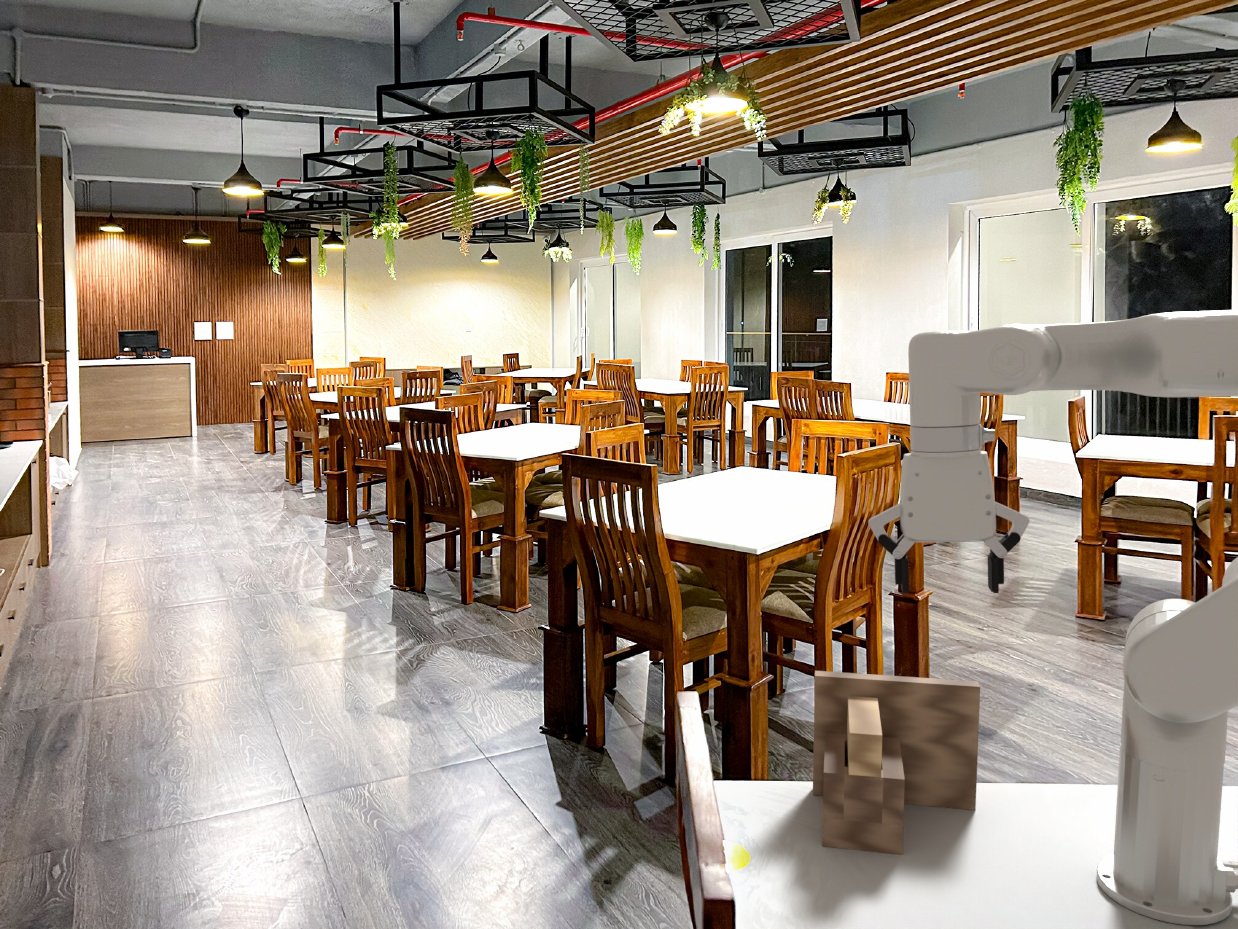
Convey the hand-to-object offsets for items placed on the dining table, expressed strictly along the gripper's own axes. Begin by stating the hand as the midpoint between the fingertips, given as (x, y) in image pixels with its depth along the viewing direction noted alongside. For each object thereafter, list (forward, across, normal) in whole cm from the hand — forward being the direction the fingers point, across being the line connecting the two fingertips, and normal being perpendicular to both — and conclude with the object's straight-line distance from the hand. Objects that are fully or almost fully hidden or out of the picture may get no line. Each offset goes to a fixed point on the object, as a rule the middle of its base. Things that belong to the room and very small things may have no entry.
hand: (948, 590), depth 112 cm
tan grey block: (+26, +10, -2) cm, 28 cm away
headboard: (+30, +7, -3) cm, 31 cm away
